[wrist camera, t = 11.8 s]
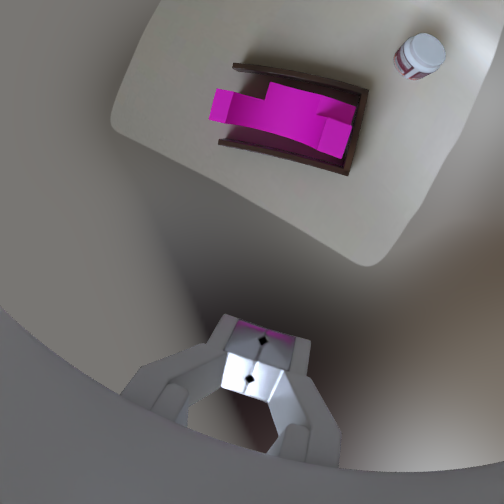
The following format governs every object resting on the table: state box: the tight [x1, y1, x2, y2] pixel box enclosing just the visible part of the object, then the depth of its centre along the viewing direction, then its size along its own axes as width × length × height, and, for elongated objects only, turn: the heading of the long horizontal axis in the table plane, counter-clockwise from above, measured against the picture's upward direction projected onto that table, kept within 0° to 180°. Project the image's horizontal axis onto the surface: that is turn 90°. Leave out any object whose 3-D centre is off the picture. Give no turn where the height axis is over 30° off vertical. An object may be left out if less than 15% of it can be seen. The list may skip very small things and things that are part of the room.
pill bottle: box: [394, 33, 446, 80], centre depth 22 cm, size 5×5×8 cm
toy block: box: [209, 82, 356, 159], centre depth 30 cm, size 15×6×8 cm, turn 75°
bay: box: [218, 63, 369, 176], centre depth 32 cm, size 11×17×2 cm
